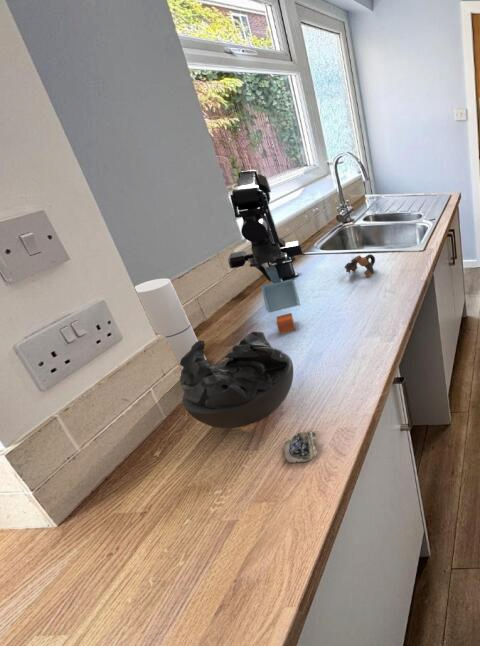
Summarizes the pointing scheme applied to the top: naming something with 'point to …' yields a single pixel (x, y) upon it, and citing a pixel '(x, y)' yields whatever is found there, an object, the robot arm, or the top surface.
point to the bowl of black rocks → (236, 383)
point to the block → (285, 323)
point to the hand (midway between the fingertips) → (275, 279)
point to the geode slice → (300, 447)
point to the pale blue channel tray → (279, 292)
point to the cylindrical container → (167, 315)
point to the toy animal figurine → (362, 262)
